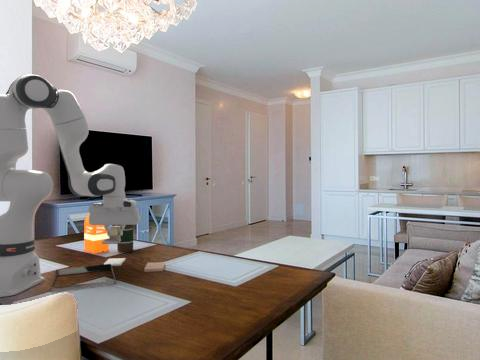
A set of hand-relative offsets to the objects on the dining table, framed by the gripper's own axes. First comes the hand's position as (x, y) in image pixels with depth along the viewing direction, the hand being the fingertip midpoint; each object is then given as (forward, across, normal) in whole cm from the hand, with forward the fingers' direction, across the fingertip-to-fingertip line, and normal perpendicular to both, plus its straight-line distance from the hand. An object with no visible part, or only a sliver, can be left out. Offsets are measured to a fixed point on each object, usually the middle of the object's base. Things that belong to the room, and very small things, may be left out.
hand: (115, 235), depth 143 cm
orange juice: (+12, -14, +24) cm, 30 cm away
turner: (+2, 0, -3) cm, 3 cm away
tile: (+11, +18, -6) cm, 22 cm away
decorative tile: (+12, -5, -22) cm, 26 cm away
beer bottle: (+12, 0, +22) cm, 25 cm away
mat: (+12, 0, 0) cm, 12 cm away
